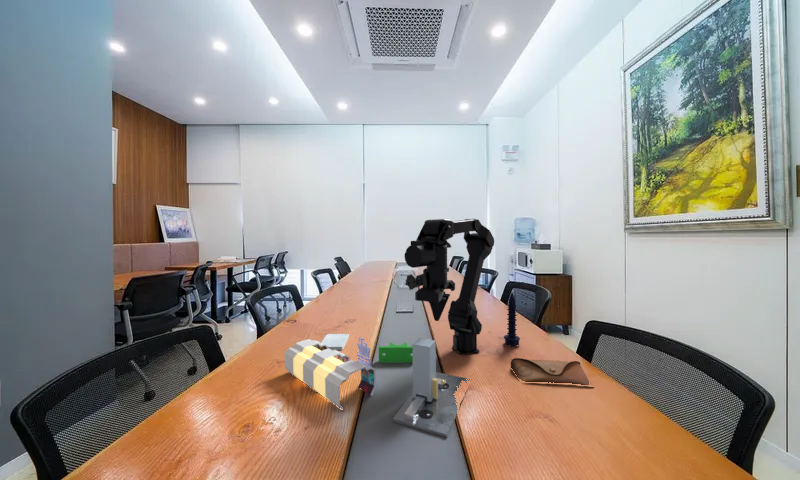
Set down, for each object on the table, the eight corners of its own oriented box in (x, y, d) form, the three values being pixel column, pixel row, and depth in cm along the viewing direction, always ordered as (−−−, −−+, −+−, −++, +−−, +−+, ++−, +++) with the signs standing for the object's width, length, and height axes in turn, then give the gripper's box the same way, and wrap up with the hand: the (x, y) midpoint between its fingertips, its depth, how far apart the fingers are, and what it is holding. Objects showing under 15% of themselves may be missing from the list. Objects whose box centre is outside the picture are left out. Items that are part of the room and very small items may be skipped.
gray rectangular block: (418, 388, 69) (418, 337, 68) (440, 393, 67) (439, 341, 66) (412, 397, 65) (411, 343, 65) (434, 402, 63) (434, 347, 63)
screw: (516, 341, 100) (522, 347, 95) (501, 341, 100) (506, 347, 95) (516, 289, 100) (522, 292, 95) (501, 289, 100) (507, 292, 95)
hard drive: (342, 347, 94) (349, 333, 106) (316, 347, 94) (326, 333, 106) (342, 352, 94) (349, 337, 106) (316, 352, 94) (326, 338, 106)
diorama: (376, 394, 68) (375, 339, 68) (338, 415, 61) (337, 353, 61) (319, 362, 86) (318, 318, 85) (284, 375, 78) (284, 326, 78)
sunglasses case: (518, 384, 72) (515, 355, 75) (512, 386, 78) (509, 359, 81) (597, 388, 70) (590, 358, 73) (584, 389, 76) (578, 362, 79)
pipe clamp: (416, 357, 88) (416, 342, 88) (417, 363, 85) (417, 347, 85) (379, 357, 89) (379, 342, 88) (378, 362, 85) (378, 347, 85)
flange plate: (429, 372, 78) (429, 365, 78) (471, 381, 74) (471, 374, 74) (393, 421, 58) (392, 412, 58) (446, 437, 54) (446, 427, 54)
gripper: (420, 260, 93) (420, 309, 93) (396, 266, 76) (396, 326, 76) (455, 261, 89) (455, 313, 89) (437, 268, 72) (438, 332, 72)
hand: (436, 320), depth 82 cm, fingers closed
